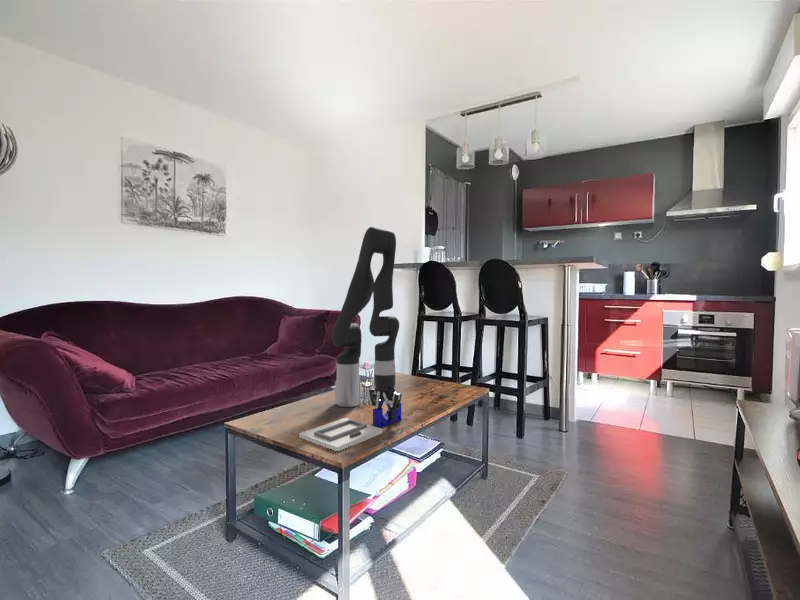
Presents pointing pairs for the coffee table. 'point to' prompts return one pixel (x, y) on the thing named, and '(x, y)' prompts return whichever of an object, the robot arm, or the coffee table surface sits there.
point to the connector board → (340, 434)
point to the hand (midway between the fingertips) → (385, 419)
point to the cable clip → (384, 417)
